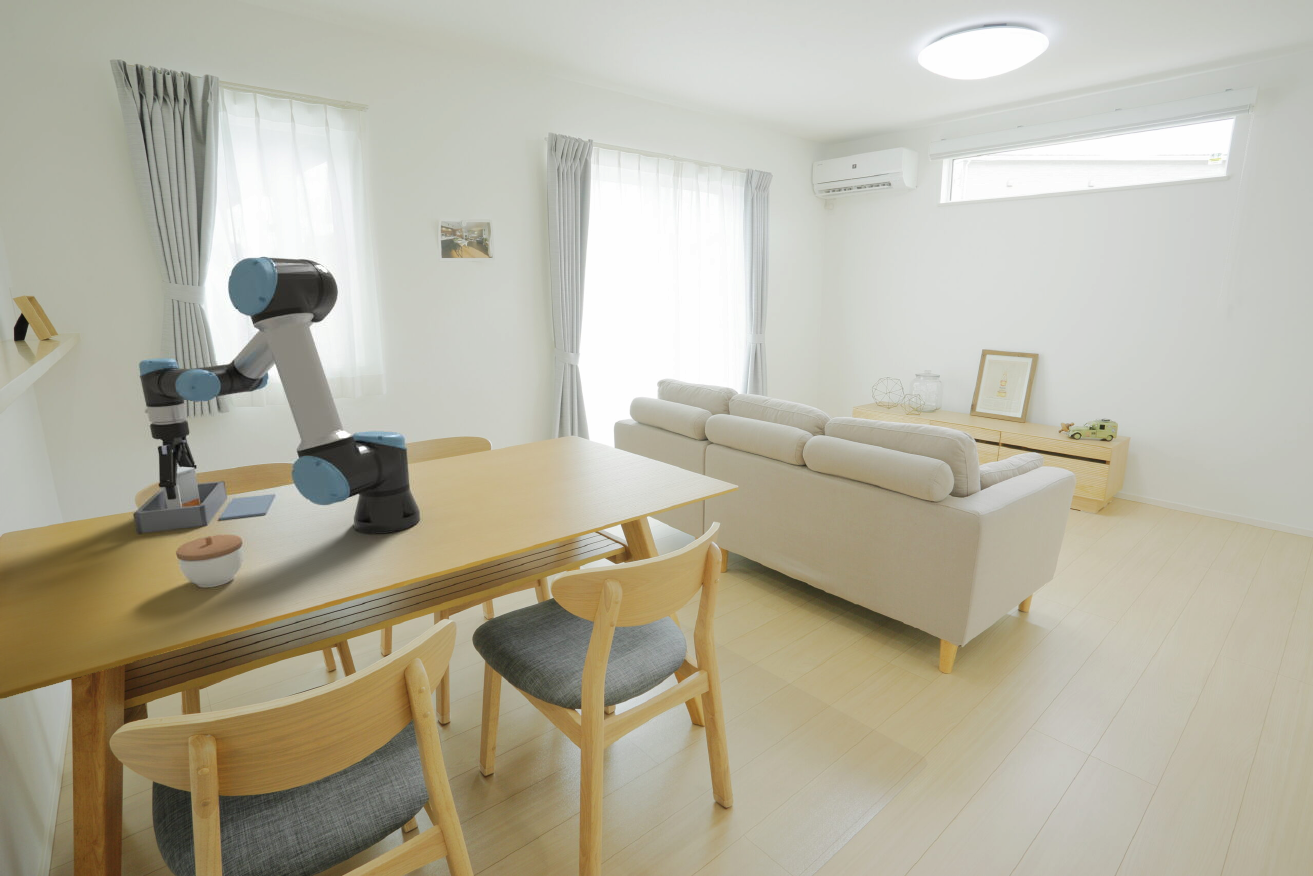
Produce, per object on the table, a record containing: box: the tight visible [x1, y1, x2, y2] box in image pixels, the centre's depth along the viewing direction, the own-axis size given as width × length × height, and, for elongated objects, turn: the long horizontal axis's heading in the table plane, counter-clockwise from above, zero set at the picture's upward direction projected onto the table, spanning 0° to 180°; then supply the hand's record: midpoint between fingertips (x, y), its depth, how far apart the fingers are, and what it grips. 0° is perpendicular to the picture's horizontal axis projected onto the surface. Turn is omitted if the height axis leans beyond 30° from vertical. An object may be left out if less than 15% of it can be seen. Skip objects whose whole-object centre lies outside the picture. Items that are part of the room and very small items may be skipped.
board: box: [219, 493, 276, 521], centre depth 167 cm, size 16×10×1 cm, turn 23°
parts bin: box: [133, 480, 228, 535], centre depth 161 cm, size 22×14×5 cm, turn 23°
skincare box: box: [163, 466, 202, 509], centre depth 161 cm, size 6×4×12 cm
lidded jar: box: [175, 534, 244, 589], centre depth 125 cm, size 11×11×9 cm
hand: (183, 502), depth 161 cm, fingers open, 13 cm apart
